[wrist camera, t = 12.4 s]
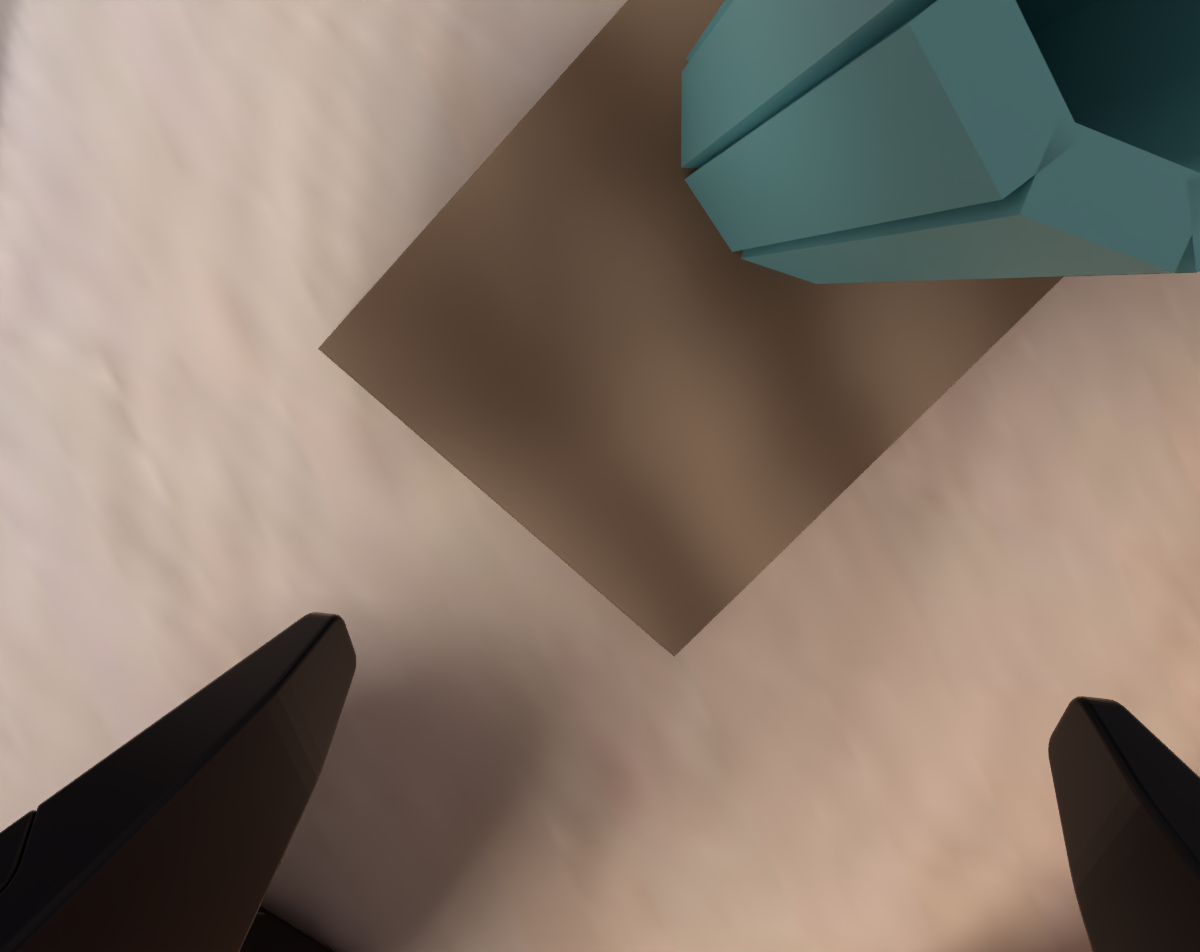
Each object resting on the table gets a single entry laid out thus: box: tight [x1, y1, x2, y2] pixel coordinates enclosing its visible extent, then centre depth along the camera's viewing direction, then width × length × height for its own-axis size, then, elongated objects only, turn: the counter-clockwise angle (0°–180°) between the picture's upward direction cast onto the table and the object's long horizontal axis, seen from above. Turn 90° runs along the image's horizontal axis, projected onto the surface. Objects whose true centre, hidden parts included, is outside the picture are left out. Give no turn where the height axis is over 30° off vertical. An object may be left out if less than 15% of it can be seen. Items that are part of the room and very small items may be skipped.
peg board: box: [318, 0, 1064, 656], centre depth 16 cm, size 16×12×5 cm
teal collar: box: [681, 0, 1200, 284], centre depth 12 cm, size 7×7×10 cm
